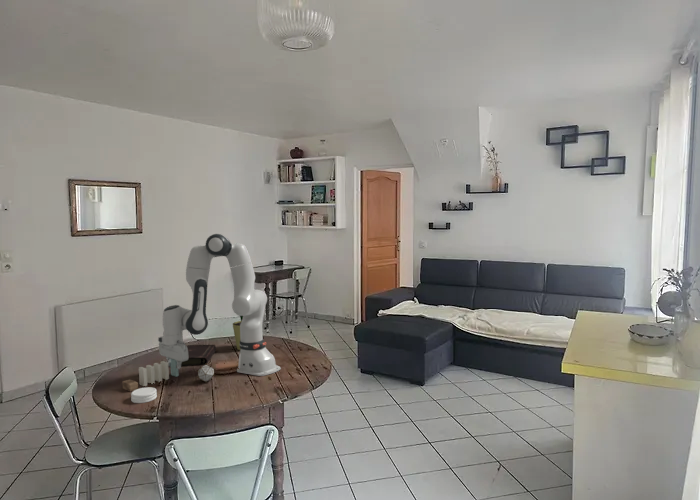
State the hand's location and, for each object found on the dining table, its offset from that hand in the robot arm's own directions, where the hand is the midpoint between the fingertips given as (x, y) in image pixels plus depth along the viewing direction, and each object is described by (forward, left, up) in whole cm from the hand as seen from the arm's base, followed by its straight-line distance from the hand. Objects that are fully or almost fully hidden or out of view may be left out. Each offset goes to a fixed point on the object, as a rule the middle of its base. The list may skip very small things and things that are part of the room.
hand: (174, 367), depth 225 cm
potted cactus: (+9, -52, -4) cm, 53 cm away
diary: (+16, -22, -5) cm, 28 cm away
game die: (-20, -4, -4) cm, 21 cm away
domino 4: (0, +5, -4) cm, 6 cm away
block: (0, +22, -4) cm, 22 cm away
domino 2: (0, +12, -4) cm, 13 cm away
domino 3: (0, +9, -4) cm, 10 cm away
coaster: (-16, +24, -4) cm, 29 cm away
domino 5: (0, 0, -4) cm, 4 cm away
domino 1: (0, +16, -4) cm, 16 cm away
